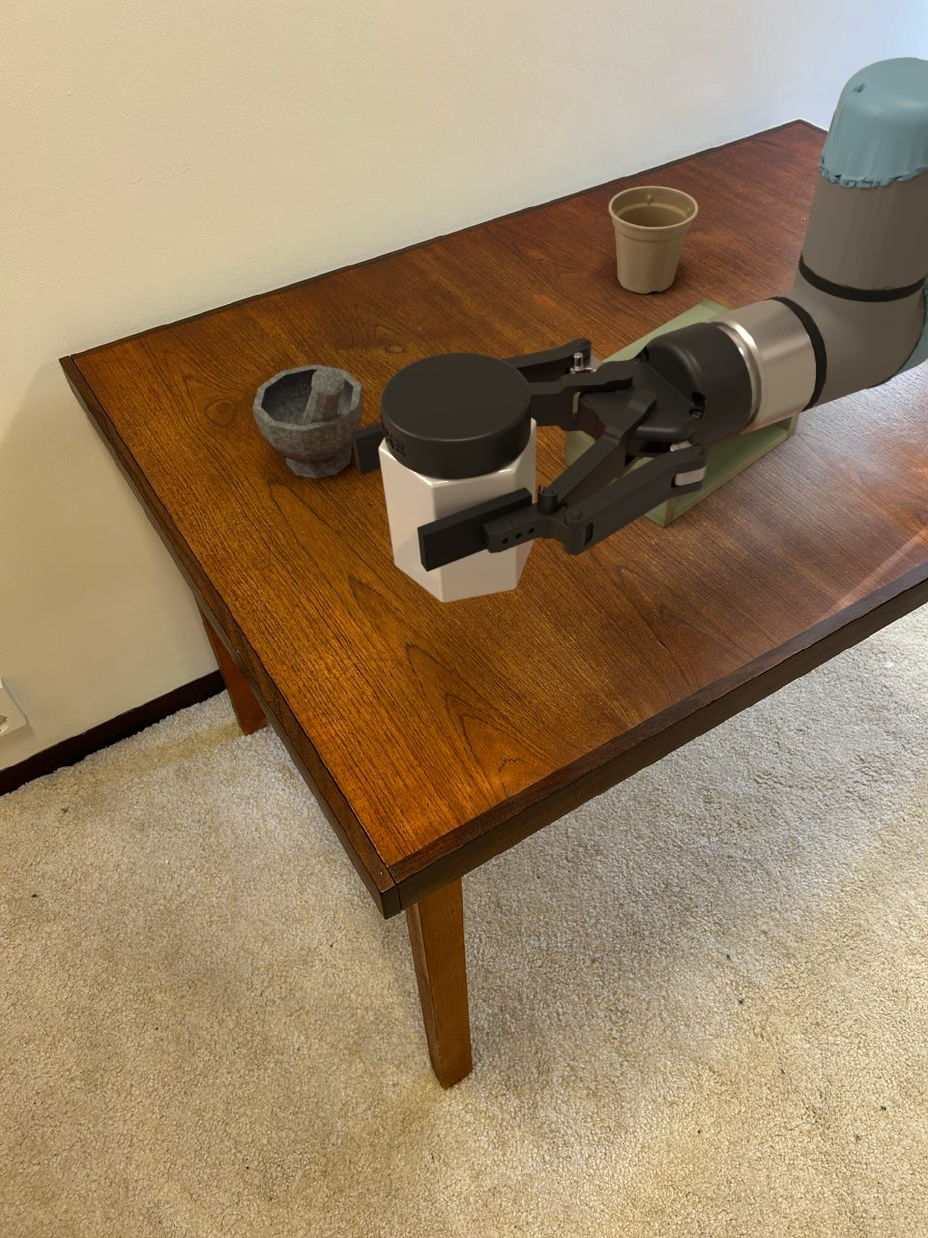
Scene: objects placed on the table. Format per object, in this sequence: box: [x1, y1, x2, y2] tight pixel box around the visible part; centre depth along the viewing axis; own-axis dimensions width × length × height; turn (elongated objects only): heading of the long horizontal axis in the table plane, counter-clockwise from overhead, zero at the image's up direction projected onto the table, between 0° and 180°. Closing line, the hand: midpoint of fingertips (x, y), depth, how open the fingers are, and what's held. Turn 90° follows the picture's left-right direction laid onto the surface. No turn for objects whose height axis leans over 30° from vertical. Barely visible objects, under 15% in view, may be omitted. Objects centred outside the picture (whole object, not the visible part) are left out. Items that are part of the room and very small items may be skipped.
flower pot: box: [608, 185, 699, 295], centre depth 106 cm, size 9×9×9 cm
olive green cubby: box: [563, 298, 801, 529], centre depth 86 cm, size 12×18×9 cm, turn 131°
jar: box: [379, 352, 537, 604], centre depth 56 cm, size 9×8×12 cm
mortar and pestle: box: [252, 364, 364, 480], centre depth 86 cm, size 11×9×12 cm
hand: (387, 499), depth 54 cm, fingers closed on jar, 8 cm apart
